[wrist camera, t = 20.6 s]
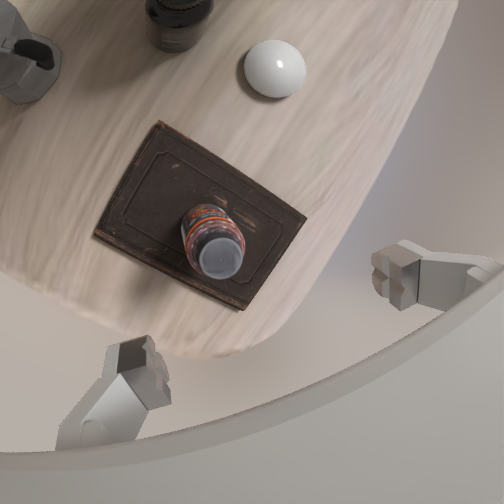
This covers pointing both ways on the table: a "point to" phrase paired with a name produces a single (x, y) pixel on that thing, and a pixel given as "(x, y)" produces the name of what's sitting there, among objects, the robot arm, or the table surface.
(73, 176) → the table surface
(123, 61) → the table surface
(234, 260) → the supplement bottle
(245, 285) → the hardcover book
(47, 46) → the coffeepot
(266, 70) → the white glossy disc
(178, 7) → the supplement bottle
